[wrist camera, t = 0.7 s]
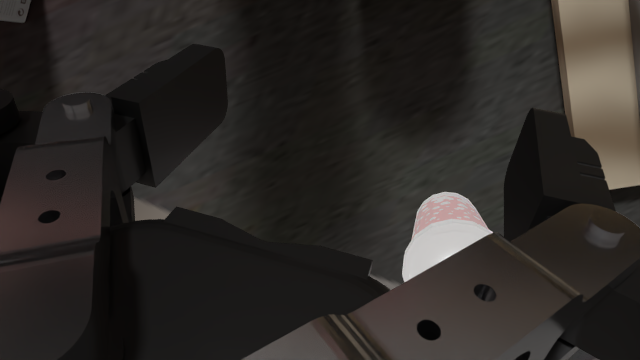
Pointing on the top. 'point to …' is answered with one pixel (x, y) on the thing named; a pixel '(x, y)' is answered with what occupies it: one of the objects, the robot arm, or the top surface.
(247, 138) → the top surface
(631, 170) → the socket mount
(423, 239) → the beverage cup
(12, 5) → the skincare box
